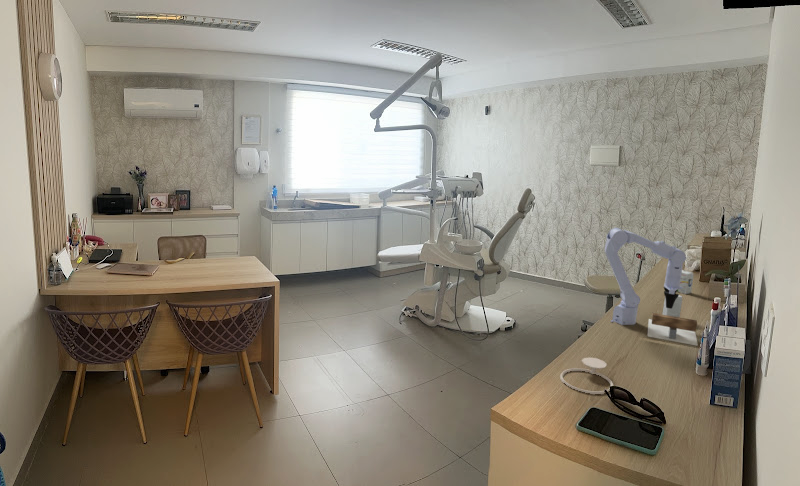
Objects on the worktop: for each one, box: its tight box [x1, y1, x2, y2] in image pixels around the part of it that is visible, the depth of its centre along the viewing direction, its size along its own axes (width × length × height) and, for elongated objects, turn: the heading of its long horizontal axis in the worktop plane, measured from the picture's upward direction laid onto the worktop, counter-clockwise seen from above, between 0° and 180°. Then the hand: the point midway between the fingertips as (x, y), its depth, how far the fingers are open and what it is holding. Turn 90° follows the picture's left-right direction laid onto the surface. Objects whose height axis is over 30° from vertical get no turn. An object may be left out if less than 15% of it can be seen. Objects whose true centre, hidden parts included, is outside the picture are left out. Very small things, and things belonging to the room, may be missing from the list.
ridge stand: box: [646, 318, 698, 348], centre depth 203 cm, size 24×18×5 cm
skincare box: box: [662, 294, 683, 318], centre depth 220 cm, size 6×4×12 cm
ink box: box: [676, 269, 694, 295], centre depth 265 cm, size 9×5×12 cm, turn 25°
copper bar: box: [652, 312, 698, 333], centre depth 198 cm, size 16×3×4 cm, turn 62°
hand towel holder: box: [559, 357, 615, 395], centre depth 160 cm, size 17×4×20 cm
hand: (668, 305), depth 208 cm, fingers open, 7 cm apart
